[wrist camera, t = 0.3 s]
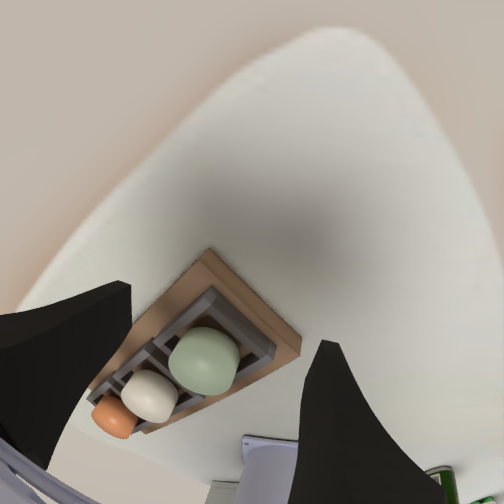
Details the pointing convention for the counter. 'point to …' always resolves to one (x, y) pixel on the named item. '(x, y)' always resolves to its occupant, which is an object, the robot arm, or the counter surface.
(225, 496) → the supplement box
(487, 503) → the cup
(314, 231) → the counter surface
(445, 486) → the beer can
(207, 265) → the button board
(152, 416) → the cream button
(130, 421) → the terracotta button
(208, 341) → the sage button
